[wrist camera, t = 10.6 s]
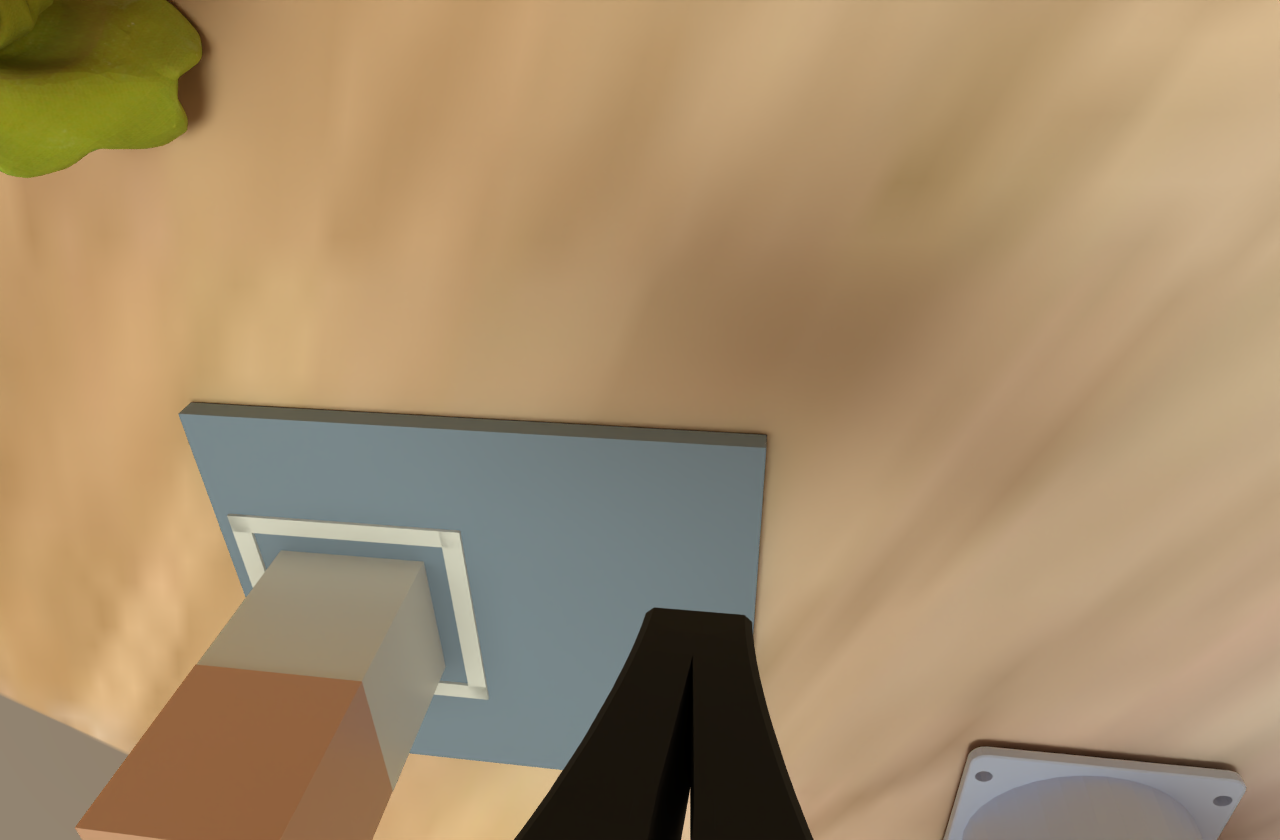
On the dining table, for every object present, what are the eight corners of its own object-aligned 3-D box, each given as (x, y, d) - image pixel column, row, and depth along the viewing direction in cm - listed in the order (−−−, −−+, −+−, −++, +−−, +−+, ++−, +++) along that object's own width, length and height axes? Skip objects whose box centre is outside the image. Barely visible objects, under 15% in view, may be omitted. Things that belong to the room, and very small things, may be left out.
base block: (445, 666, 27) (393, 791, 24) (314, 654, 28) (242, 774, 24) (423, 561, 25) (361, 682, 21) (281, 550, 26) (195, 665, 22)
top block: (392, 790, 24) (319, 963, 20) (241, 773, 24) (144, 937, 20) (362, 681, 21) (272, 853, 18) (195, 664, 22) (74, 828, 18)
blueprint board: (742, 773, 29) (741, 791, 29) (306, 727, 31) (297, 743, 31) (766, 435, 22) (765, 450, 21) (190, 402, 24) (176, 415, 23)
